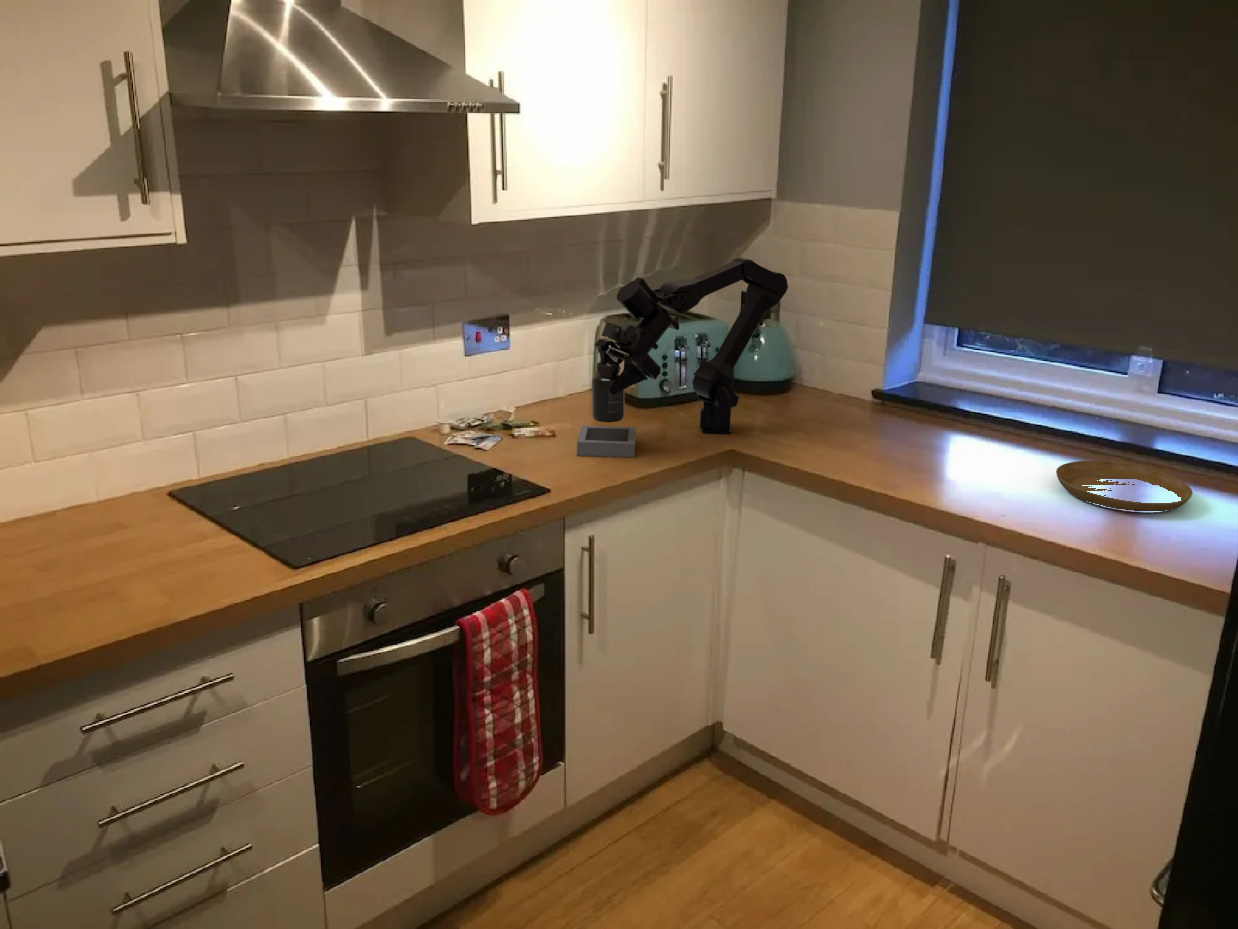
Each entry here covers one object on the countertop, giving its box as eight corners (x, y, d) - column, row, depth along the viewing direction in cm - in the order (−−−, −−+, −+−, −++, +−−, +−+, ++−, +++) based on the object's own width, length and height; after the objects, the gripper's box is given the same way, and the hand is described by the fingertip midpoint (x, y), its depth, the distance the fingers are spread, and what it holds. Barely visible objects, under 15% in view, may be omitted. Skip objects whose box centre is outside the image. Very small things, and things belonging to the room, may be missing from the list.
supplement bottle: (625, 414, 226) (626, 360, 222) (622, 423, 220) (623, 368, 216) (594, 413, 227) (594, 359, 223) (590, 422, 220) (590, 366, 216)
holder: (635, 440, 231) (636, 427, 230) (634, 457, 219) (634, 443, 218) (581, 438, 231) (581, 425, 230) (576, 455, 220) (577, 441, 219)
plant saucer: (1193, 490, 208) (1196, 474, 207) (1185, 529, 188) (1188, 511, 187) (1064, 467, 219) (1066, 452, 218) (1043, 502, 200) (1046, 486, 199)
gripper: (602, 300, 225) (557, 356, 223) (649, 315, 210) (601, 375, 208) (633, 333, 232) (589, 387, 230) (680, 349, 217) (634, 408, 215)
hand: (602, 389), depth 220 cm, fingers closed on supplement bottle, 7 cm apart
